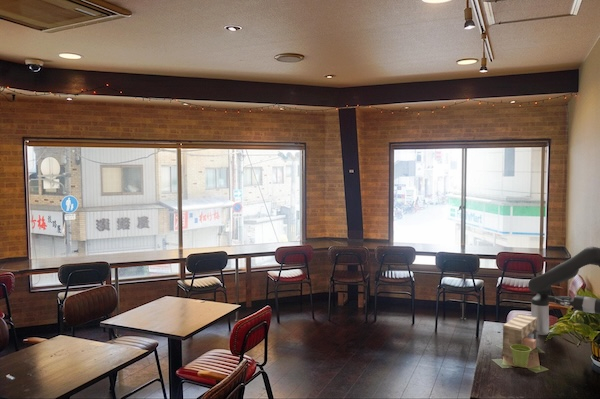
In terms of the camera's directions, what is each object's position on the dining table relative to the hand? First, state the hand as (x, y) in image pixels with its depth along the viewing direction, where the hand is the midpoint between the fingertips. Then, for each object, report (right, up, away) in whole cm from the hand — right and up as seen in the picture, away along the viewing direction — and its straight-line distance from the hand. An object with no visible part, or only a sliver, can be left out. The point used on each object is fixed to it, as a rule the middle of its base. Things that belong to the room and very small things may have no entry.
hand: (547, 297), depth 246 cm
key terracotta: (-12, -24, -4) cm, 27 cm away
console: (-12, -30, +6) cm, 32 cm away
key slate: (-9, -24, +4) cm, 26 cm away
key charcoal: (-4, -23, +9) cm, 25 cm away
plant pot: (-20, -31, -12) cm, 39 cm away
